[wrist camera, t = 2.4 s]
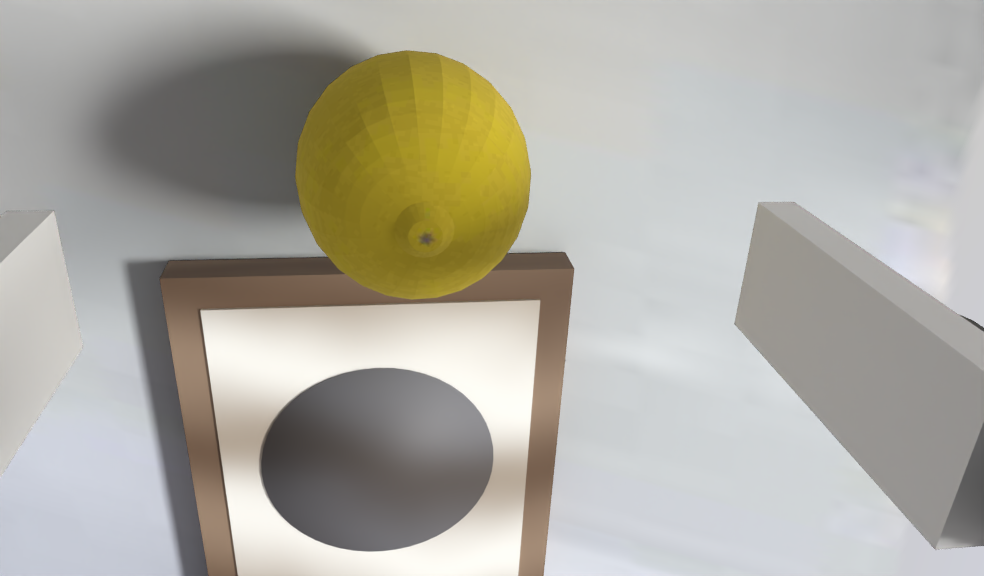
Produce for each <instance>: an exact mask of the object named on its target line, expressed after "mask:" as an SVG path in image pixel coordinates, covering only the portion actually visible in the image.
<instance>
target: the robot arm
mask: <svg viewBox="0 0 984 576" xmlns="http://www.w3.org/2000/svg"><path fill="white" fill-rule="evenodd" d="M734 324H735V325H736V326H737V327H738V329H739V330H740V331H741V332H742V333H743V334H744V335H745V336H746V338H747V339H748V340H749V341H750V342H751V343H752V344H753V345H754V347H755V348H756V349H757V350H758V351H759V352H760V353H761V354H762V356H763V357H764V358H765V359H766V360H767V361H768V362H769V363H770V365H771V366H772V367H773V368H774V369H775V370H776V371H777V372H778V374H779V375H780V376H781V377H782V378H783V379H784V380H785V381H786V383H787V384H788V385H789V386H790V387H791V388H792V389H793V390H794V392H795V393H796V394H797V395H798V396H799V397H800V398H801V399H802V401H803V402H804V403H805V404H806V405H807V406H808V407H809V408H810V410H811V411H812V412H813V413H814V414H815V415H816V416H817V417H818V419H819V420H820V421H821V422H822V423H823V424H824V425H825V426H826V428H827V429H828V430H829V431H830V432H831V433H832V434H833V435H834V437H835V438H836V439H837V440H838V441H839V442H840V443H841V444H842V446H843V447H844V448H845V449H846V450H847V451H848V452H849V453H850V455H851V456H852V457H853V458H854V459H855V460H856V461H857V462H858V464H859V465H860V466H861V467H862V468H863V469H864V470H865V471H866V473H867V474H868V475H869V476H870V477H871V478H872V479H873V480H874V482H875V483H876V484H877V485H878V486H879V487H880V488H881V489H882V491H883V492H884V493H885V494H886V495H887V496H888V497H889V498H890V500H891V501H892V502H893V503H894V504H895V505H896V506H897V507H898V509H899V510H900V511H901V512H902V513H903V514H904V515H905V516H906V518H907V519H908V520H909V521H910V522H911V523H912V524H913V525H914V527H915V528H916V529H917V530H918V531H919V532H920V533H921V534H922V536H923V537H924V538H925V539H926V540H927V541H928V542H929V543H930V544H931V546H932V547H933V548H934V549H935V550H939V549H951V548H962V547H974V546H984V328H983V327H982V326H980V325H979V324H977V323H976V322H974V321H972V320H970V319H968V318H966V317H964V316H961V315H959V314H957V313H955V312H954V311H953V310H951V309H950V308H948V307H947V306H945V305H944V304H942V303H941V302H939V301H938V300H937V299H935V298H934V297H932V296H931V295H929V294H928V293H926V292H925V291H923V290H922V289H921V288H919V287H918V286H916V285H915V284H913V283H912V282H910V281H909V280H907V279H906V278H904V277H903V276H902V275H900V274H899V273H897V272H896V271H894V270H893V269H891V268H890V267H888V266H887V265H885V264H884V263H883V262H881V261H880V260H878V259H877V258H875V257H874V256H872V255H871V254H869V253H868V252H867V251H865V250H864V249H862V248H861V247H859V246H858V245H856V244H855V243H853V242H852V241H850V240H849V239H848V238H846V237H845V236H843V235H842V234H840V233H839V232H837V231H836V230H834V229H833V228H831V227H830V226H829V225H827V224H826V223H824V222H823V221H821V220H820V219H818V218H817V217H815V216H814V215H813V214H811V213H810V212H808V211H807V210H805V209H804V208H802V207H801V206H799V205H798V204H796V203H795V202H758V208H757V213H756V218H755V223H754V228H753V233H752V238H751V243H750V248H749V253H748V258H747V263H746V268H745V273H744V278H743V283H742V288H741V293H740V298H739V303H738V308H737V313H736V318H735V323H734ZM82 349H83V343H82V338H81V334H80V329H79V324H78V320H77V315H76V310H75V306H74V301H73V296H72V292H71V287H70V282H69V278H68V273H67V268H66V264H65V259H64V254H63V250H62V245H61V240H60V236H59V231H58V226H57V222H56V217H55V212H54V210H49V211H6V212H5V213H4V214H3V215H1V216H0V478H1V476H2V475H3V473H4V471H5V470H6V468H7V467H8V465H9V464H10V462H11V460H12V459H13V457H14V456H15V454H16V453H17V451H18V449H19V448H20V446H21V445H22V443H23V442H24V440H25V438H26V437H27V435H28V434H29V432H30V431H31V429H32V427H33V426H34V424H35V423H36V421H37V420H38V418H39V416H40V415H41V413H42V412H43V410H44V409H45V407H46V405H47V404H48V402H49V401H50V399H51V398H52V396H53V394H54V393H55V391H56V390H57V388H58V387H59V385H60V383H61V382H62V380H63V379H64V377H65V376H66V374H67V372H68V371H69V369H70V368H71V366H72V365H73V363H74V361H75V360H76V358H77V357H78V355H79V354H80V352H81V350H82Z"/></svg>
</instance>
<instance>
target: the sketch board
mask: <svg viewBox="0 0 984 576" xmlns="http://www.w3.org/2000/svg"><path fill="white" fill-rule="evenodd" d="M573 275H574V267H573V266H572V264H571V262H570V260H569V258H568V257H567V255H566V253H565V252H564V253H517V254H506V255H505V257H504V258H503V259H502V261H501V262H500V263H499V264H497V265H496V266H495V267H494V268H493V269H492V270H491V271H490V272H489V273H488V274H487V275H486V276H485V277H483V278H482V279H480V280H479V281H477V282H475V283H473V284H472V285H470V286H468V287H466V288H464V289H463V290H461V291H458V292H454V293H451V294H448V295H444V296H441V297H438V298H426V299H412V300H411V299H405V298H399V297H392V296H386V295H384V294H381V293H379V292H377V291H374V290H372V289H369V288H367V287H364V286H362V285H360V284H359V283H357V282H356V281H355V280H353V279H352V278H350V277H349V276H348V275H346V274H345V273H343V272H342V271H340V270H339V269H338V268H337V267H336V266H335V264H334V263H333V262H332V261H331V260H330V259H329V257H327V258H279V259H232V260H184V261H168V263H167V265H166V267H165V269H164V271H163V273H162V275H161V277H160V285H161V291H162V297H163V303H164V309H165V315H166V321H167V327H168V333H169V339H170V345H171V352H172V358H173V364H174V370H175V376H176V382H177V388H178V394H179V400H180V406H181V412H182V418H183V424H184V430H185V436H186V443H187V449H188V455H189V461H190V467H191V473H192V479H193V485H194V491H195V497H196V503H197V509H198V515H199V521H200V528H201V534H202V540H203V546H204V552H205V558H206V564H207V570H208V576H543V575H544V565H545V555H546V545H547V535H548V525H549V515H550V505H551V495H552V485H553V475H554V465H555V455H556V445H557V435H558V425H559V415H560V405H561V395H562V385H563V375H564V365H565V355H566V345H567V335H568V325H569V315H570V305H571V295H572V285H573Z"/></svg>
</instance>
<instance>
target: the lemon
mask: <svg viewBox="0 0 984 576" xmlns="http://www.w3.org/2000/svg"><path fill="white" fill-rule="evenodd" d="M295 179H296V185H297V190H298V195H299V200H300V205H301V210H302V213H303V216H304V218H305V220H306V222H307V224H308V226H309V228H310V230H311V232H312V234H313V237H314V239H315V241H316V242H317V244H318V246H319V247H320V248H321V249H322V250H323V252H324V253H325V254H326V255H327V256H328V257H329V259H330V260H331V261H332V262H333V263H334V264H335V266H336V267H337V268H338V269H339V270H340V271H342V272H343V273H345V274H346V275H348V276H349V277H350V278H352V279H353V280H355V281H356V282H357V283H359V284H360V285H362V286H364V287H367V288H369V289H372V290H374V291H377V292H379V293H381V294H384V295H386V296H392V297H399V298H405V299H411V300H412V299H426V298H438V297H441V296H444V295H448V294H451V293H454V292H458V291H461V290H463V289H464V288H466V287H468V286H470V285H472V284H473V283H475V282H477V281H479V280H480V279H482V278H483V277H485V276H486V275H487V274H488V273H489V272H490V271H491V270H492V269H493V268H494V267H495V266H496V265H497V264H499V263H500V262H501V261H502V259H503V258H504V257H505V255H506V254H507V252H508V251H509V249H510V248H511V246H512V245H513V243H514V242H515V240H516V239H517V237H518V234H519V231H520V229H521V226H522V223H523V220H524V217H525V215H526V212H527V209H528V203H529V192H530V180H531V169H530V164H529V158H528V152H527V147H526V141H525V137H524V135H523V133H522V131H521V129H520V126H519V124H518V122H517V120H516V118H515V116H514V113H513V111H512V109H511V107H510V106H509V105H508V103H507V102H506V101H505V100H504V99H503V98H502V96H501V95H500V94H499V93H498V92H497V90H496V89H495V88H494V87H493V86H492V84H491V83H490V82H489V81H487V80H486V79H484V78H483V77H482V76H480V75H479V74H477V73H476V72H474V71H473V70H472V69H470V68H469V67H467V66H466V65H464V64H463V63H460V62H458V61H455V60H452V59H450V58H447V57H444V56H442V55H439V54H436V53H427V52H417V51H407V50H406V51H400V52H394V53H388V54H381V55H377V56H375V57H372V58H370V59H368V60H366V61H363V62H361V63H359V64H356V65H354V66H352V67H350V68H349V69H348V70H346V71H345V72H344V73H343V74H342V75H340V76H339V77H338V78H337V79H335V80H334V81H333V82H332V83H330V84H329V85H328V86H327V88H326V89H325V90H324V92H323V93H322V95H321V96H320V97H319V99H318V100H317V102H316V103H315V104H314V106H313V107H312V109H311V110H310V111H309V114H308V117H307V120H306V122H305V125H304V128H303V130H302V133H301V136H300V138H299V141H298V148H297V160H296V173H295Z"/></svg>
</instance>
